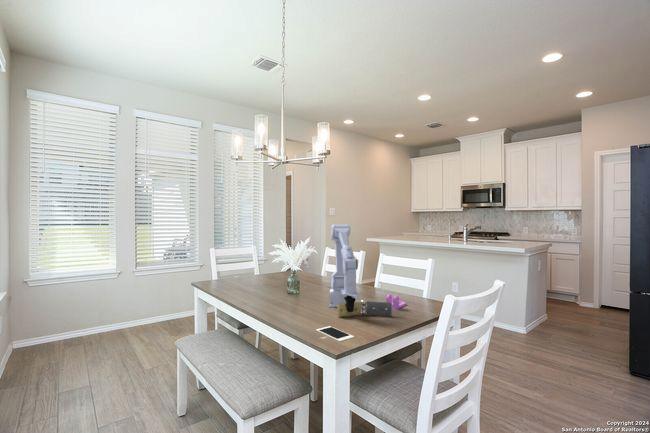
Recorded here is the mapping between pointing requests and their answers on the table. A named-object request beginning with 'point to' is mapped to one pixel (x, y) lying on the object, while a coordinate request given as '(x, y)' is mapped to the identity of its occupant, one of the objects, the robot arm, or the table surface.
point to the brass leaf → (343, 312)
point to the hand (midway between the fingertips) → (350, 311)
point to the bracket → (395, 302)
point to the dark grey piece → (377, 308)
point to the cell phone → (335, 333)
